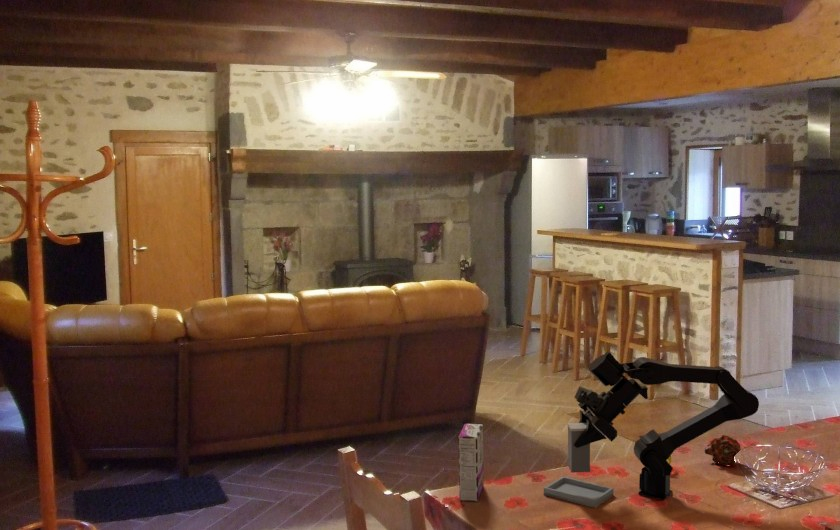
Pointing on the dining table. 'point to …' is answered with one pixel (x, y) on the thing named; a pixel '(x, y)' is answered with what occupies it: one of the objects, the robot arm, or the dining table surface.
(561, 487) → the tray
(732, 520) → the dining table surface
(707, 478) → the dining table surface
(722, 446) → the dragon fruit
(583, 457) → the grey tall block
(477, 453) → the candy bar box
